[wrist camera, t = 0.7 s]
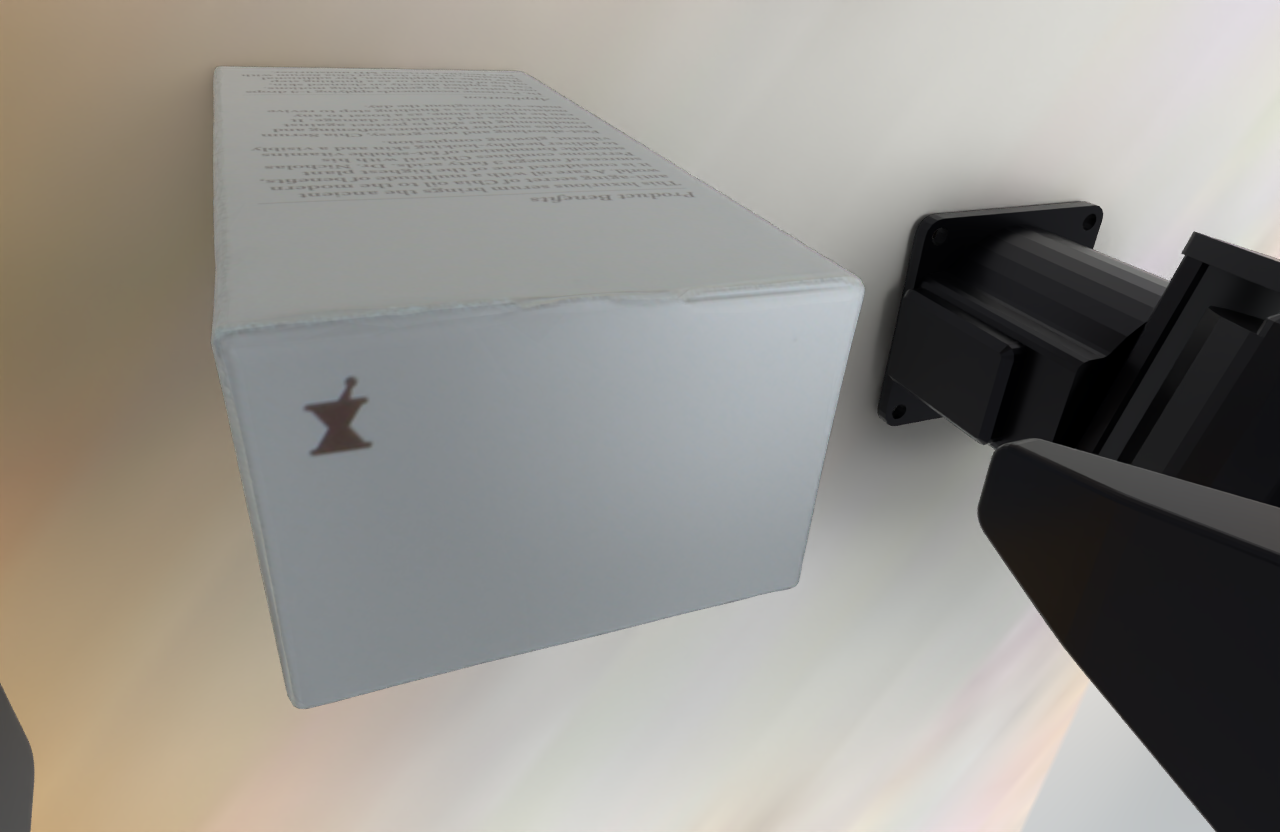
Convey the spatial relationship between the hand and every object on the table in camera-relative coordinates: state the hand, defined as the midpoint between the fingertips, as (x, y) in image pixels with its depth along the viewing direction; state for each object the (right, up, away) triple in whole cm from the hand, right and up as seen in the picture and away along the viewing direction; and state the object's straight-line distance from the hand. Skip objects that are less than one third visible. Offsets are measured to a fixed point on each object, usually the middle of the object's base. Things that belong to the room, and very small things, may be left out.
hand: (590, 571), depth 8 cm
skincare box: (-5, +6, +10) cm, 13 cm away
